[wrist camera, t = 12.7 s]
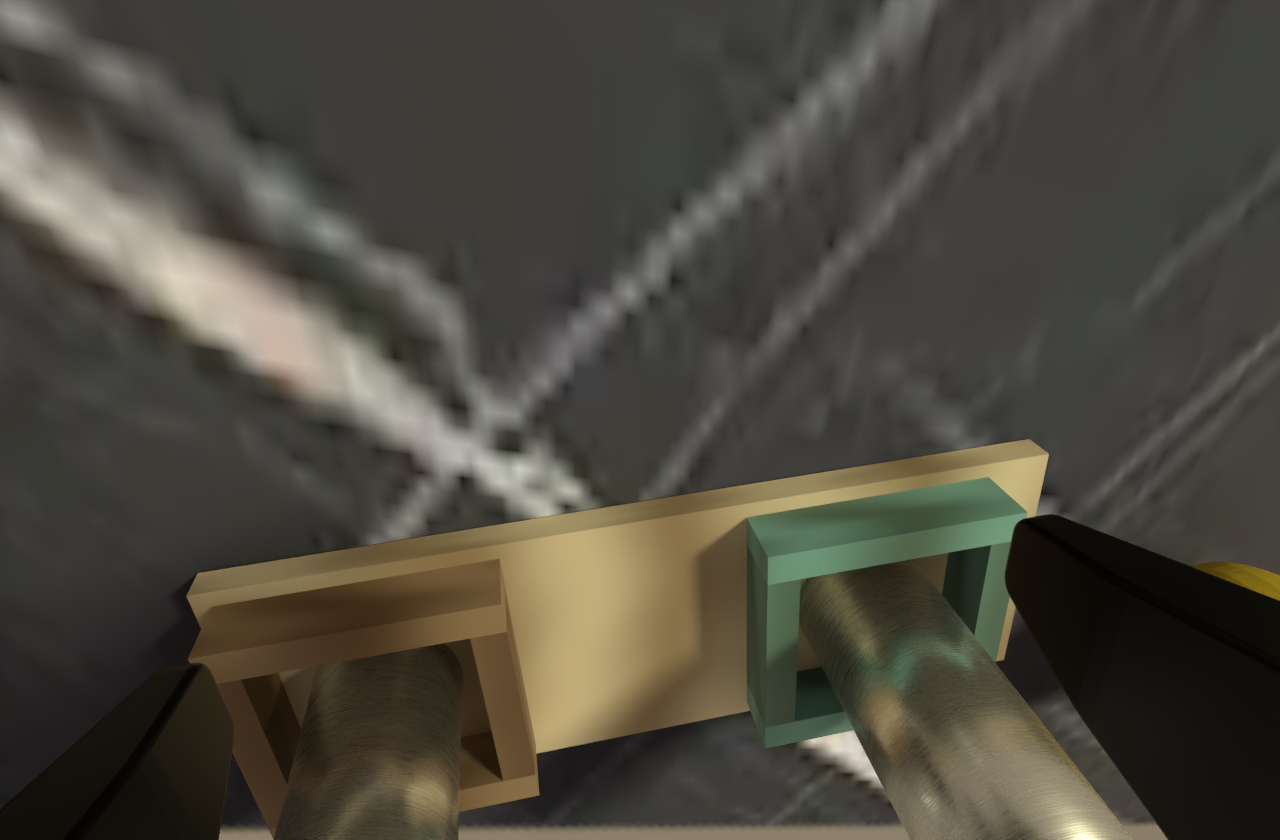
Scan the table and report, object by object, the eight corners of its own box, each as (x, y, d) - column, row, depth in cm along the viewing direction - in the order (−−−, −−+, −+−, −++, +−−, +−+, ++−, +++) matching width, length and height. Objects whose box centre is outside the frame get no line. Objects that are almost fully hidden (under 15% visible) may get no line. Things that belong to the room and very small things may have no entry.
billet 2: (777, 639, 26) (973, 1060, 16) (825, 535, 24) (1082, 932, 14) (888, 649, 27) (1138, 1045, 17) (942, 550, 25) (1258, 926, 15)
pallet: (287, 778, 26) (266, 862, 24) (197, 572, 22) (160, 648, 19) (988, 640, 30) (1037, 701, 27) (1029, 439, 25) (1092, 487, 23)
